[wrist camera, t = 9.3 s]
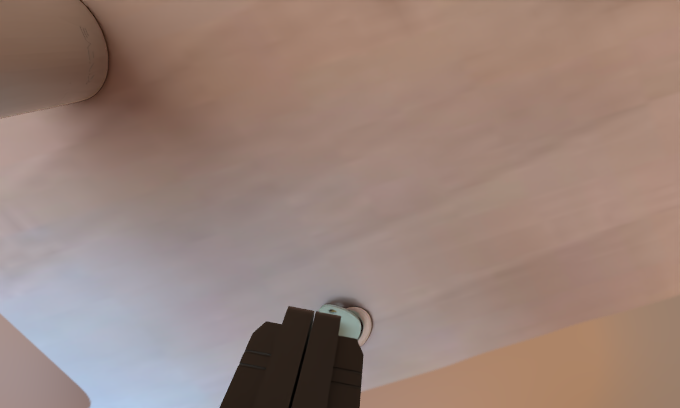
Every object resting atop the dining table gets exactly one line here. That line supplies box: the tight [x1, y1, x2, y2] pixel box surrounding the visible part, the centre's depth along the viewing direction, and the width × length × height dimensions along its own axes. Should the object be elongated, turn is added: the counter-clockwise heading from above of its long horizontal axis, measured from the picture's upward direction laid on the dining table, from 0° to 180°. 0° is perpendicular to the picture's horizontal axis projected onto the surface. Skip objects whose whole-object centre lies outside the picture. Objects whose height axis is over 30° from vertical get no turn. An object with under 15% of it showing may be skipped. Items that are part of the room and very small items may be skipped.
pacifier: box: [319, 304, 372, 346], centre depth 38 cm, size 7×6×6 cm
